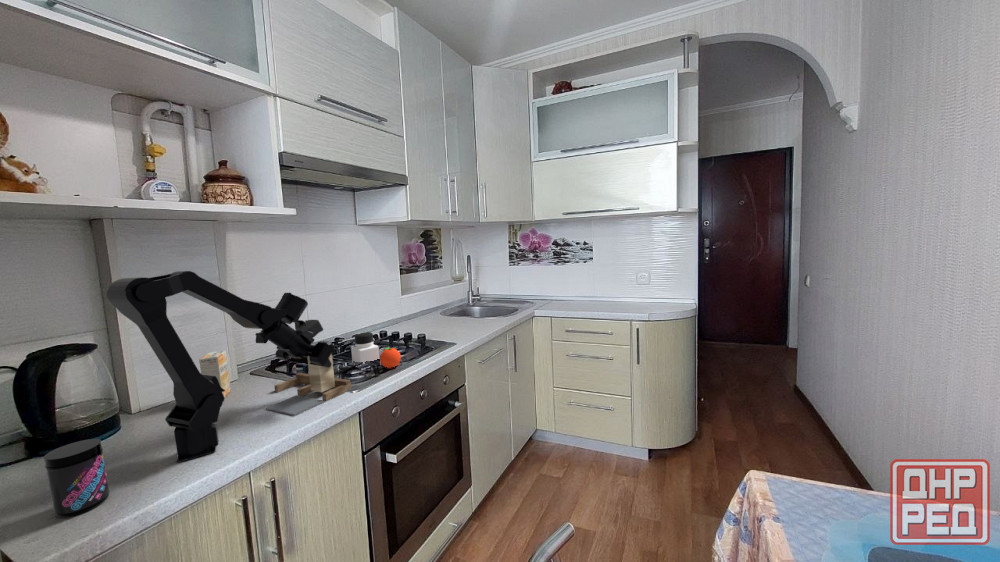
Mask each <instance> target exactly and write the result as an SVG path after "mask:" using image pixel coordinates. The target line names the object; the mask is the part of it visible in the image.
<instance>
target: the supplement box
mask: <svg viewBox="0 0 1000 562" xmlns="http://www.w3.org/2000/svg"><path fill="white" fill-rule="evenodd" d="M198 362H199V369H200V373H201V374H202V375H210V376H216V377H217V379H218V381H219V384H220V386H221V387H222V388H223V389H224V390H225V391H224V392H222V393H223V395H224V399H225V398H226V396H227V395H228V394H229V393H230V392H231V383H230V375H229V368H228V361H227V351H226V350H220V351H219V350H218V351H211V352H208V353H206V354H204V355H203V356H202V357H200V358H199V359H198Z"/></svg>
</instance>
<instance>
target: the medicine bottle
mask: <svg viewBox="0 0 1000 562" xmlns="http://www.w3.org/2000/svg"><path fill="white" fill-rule="evenodd" d="M373 335H374V334H373V333H372V332H370V331H362V332H359V333H357V334H355V335H354V342H355V344H354V345H355V346H352V347H350V350H351V361H352V362H353V361H355V362H366V361H374V360H377V359H380V356H381V354H380V347H379V345H377V344H374V336H373Z"/></svg>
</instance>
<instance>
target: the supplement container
mask: <svg viewBox="0 0 1000 562" xmlns="http://www.w3.org/2000/svg"><path fill="white" fill-rule="evenodd" d="M43 462H44V468H45V471H46V476H47V482H48V487H49V492H50V497H51V502H52V508H53V513H54V514H53V515H55V516H56V517H59V518H70V517H71V518H72V517H75V516H78V515H81V514H83V513H86V512H89V511H91V510H93V509H96V508H98V507H99V506H100V505H101V504H103V503H105V502H106V501H107V499H108V498H109V497H110V494H111V492H110V486H109V479H108V474H107V468H106V463H105V462H106V461H105V457H104V449H103V444H102V440H101V439H100V438H89V439H84V440H83V439H82V440H79V441H75V442H72V443H68V444H66V445H62V446H59V447H57V448H55V449H53V450H51V451H49V452H47V453H46V454H45V455H44V456H43Z"/></svg>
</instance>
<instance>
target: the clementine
mask: <svg viewBox="0 0 1000 562" xmlns="http://www.w3.org/2000/svg"><path fill="white" fill-rule="evenodd" d="M401 359H402V356H401V353H400V351H399V350H397V348H394V347H386V348H383V350H382V352H381V353H380V365H382V366H383V367H384V368H386V367H387V368H386V369H392V368H391V367H394V368H396V367H397V366H399V364H400V363H401ZM395 366H396V367H395Z"/></svg>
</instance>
